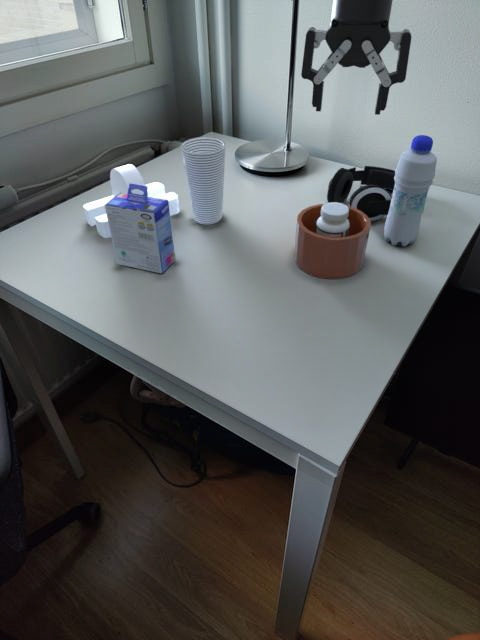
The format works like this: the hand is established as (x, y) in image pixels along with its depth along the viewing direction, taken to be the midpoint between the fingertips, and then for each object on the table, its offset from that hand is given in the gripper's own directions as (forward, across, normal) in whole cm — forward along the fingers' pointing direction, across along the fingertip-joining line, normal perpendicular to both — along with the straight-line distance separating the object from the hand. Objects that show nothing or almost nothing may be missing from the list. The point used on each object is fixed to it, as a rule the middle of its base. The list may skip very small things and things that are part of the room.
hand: (347, 111), depth 68 cm
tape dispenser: (+26, -42, +9) cm, 50 cm away
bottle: (+26, +13, +9) cm, 31 cm away
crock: (+26, 0, 0) cm, 26 cm away
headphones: (+26, +8, +23) cm, 36 cm away
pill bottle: (+26, 0, 0) cm, 26 cm away
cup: (+26, -26, +11) cm, 39 cm away
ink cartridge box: (+26, -33, -7) cm, 43 cm away
